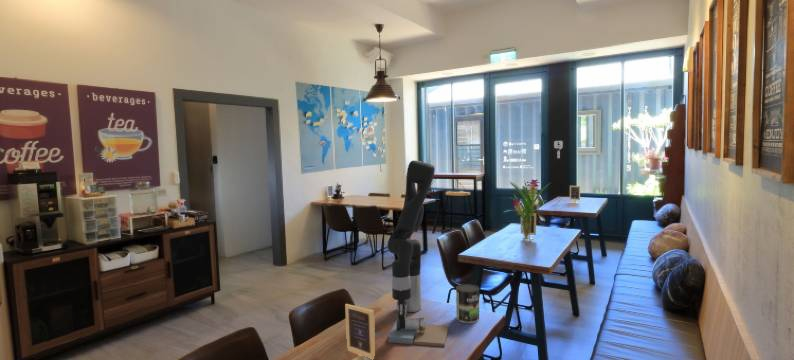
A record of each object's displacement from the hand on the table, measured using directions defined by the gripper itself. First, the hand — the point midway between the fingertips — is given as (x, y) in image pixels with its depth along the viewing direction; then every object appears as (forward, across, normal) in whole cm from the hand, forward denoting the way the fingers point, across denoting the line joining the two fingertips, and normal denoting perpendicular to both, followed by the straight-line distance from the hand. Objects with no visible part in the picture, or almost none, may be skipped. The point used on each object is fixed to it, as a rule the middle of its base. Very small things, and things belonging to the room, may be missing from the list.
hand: (402, 328), depth 169 cm
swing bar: (+2, -3, +3) cm, 5 cm away
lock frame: (+4, -4, +7) cm, 9 cm away
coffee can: (+4, -20, +28) cm, 35 cm away
